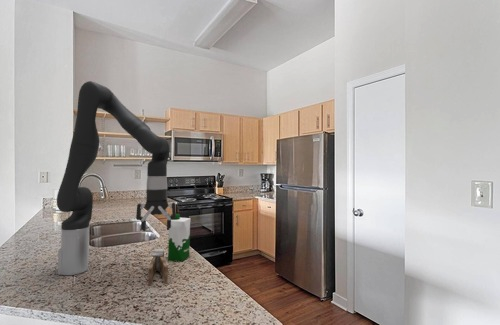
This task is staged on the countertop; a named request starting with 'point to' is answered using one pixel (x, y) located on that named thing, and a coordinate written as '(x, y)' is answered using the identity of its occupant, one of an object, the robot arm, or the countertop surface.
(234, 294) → the countertop surface
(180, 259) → the milk carton
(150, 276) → the tong frame
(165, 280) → the tong arm
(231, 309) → the countertop surface
